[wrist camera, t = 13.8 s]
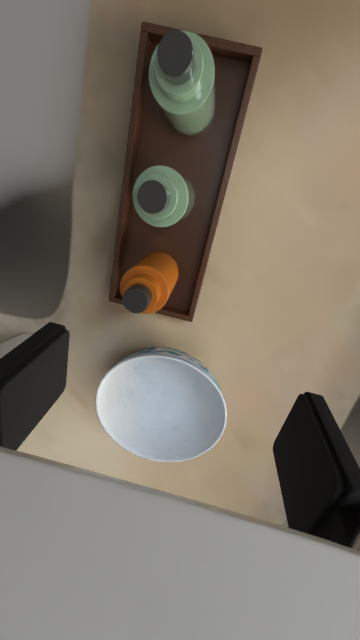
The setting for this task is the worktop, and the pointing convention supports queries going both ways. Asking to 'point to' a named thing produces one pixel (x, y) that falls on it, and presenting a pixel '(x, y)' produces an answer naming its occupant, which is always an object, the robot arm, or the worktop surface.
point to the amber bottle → (149, 283)
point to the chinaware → (161, 405)
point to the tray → (182, 168)
